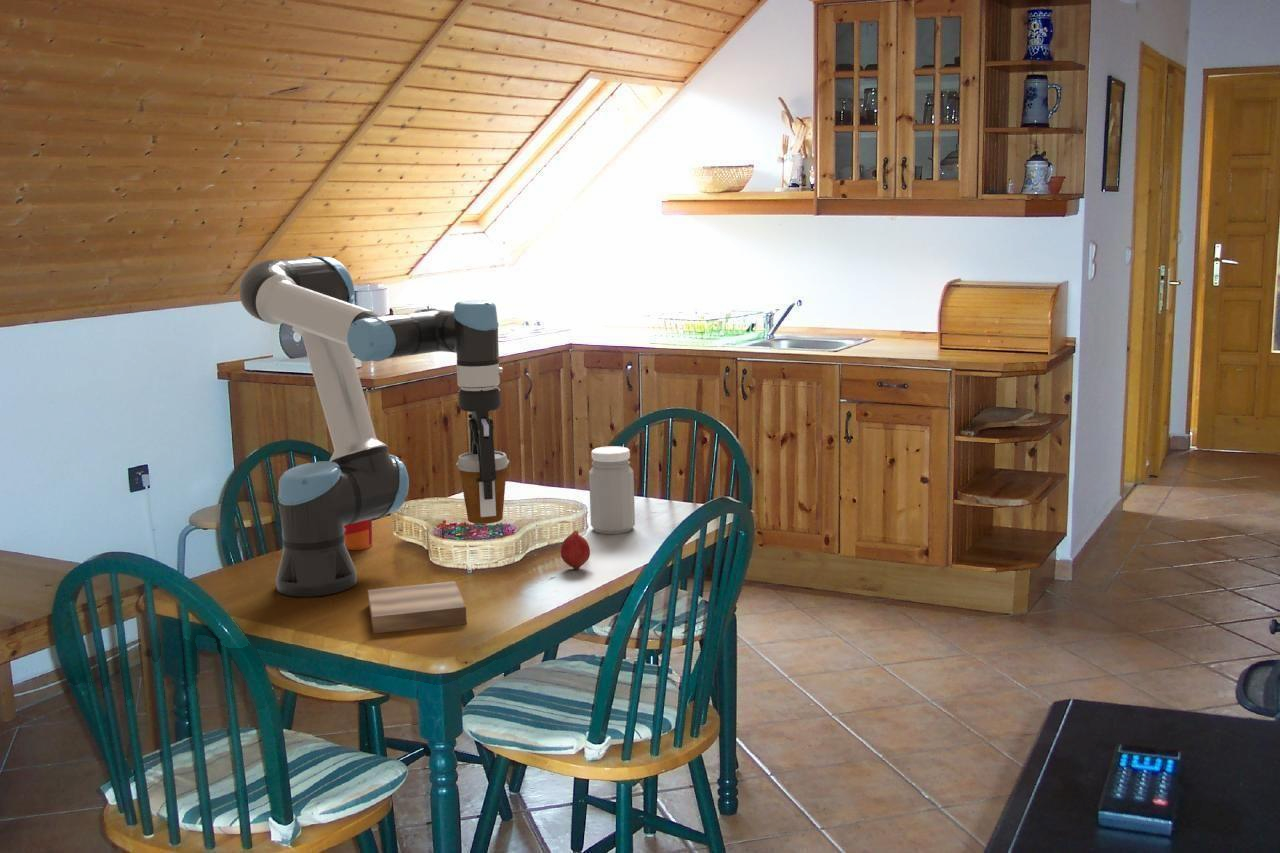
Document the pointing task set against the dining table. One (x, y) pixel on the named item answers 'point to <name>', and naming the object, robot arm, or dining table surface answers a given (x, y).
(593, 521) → the jar
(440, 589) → the square wooden board
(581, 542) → the onion
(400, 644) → the dining table surface
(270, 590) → the dining table surface
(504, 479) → the disposable coffee cup
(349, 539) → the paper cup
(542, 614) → the dining table surface
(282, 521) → the robot arm
